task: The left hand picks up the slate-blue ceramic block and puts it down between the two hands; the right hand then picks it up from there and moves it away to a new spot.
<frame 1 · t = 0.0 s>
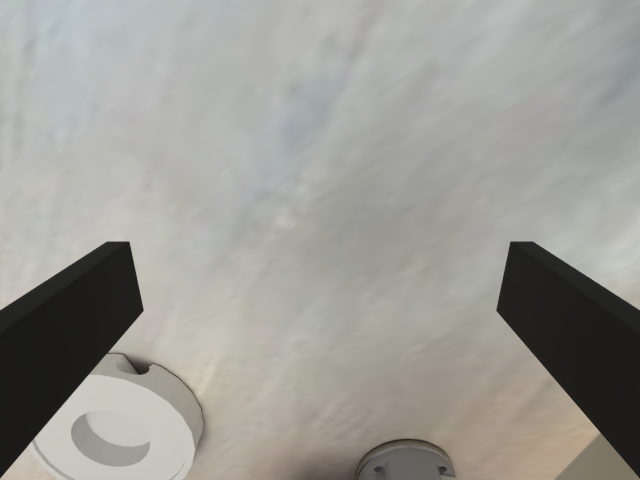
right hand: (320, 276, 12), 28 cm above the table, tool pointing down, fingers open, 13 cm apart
ashtray: (125, 416, 52), on the table
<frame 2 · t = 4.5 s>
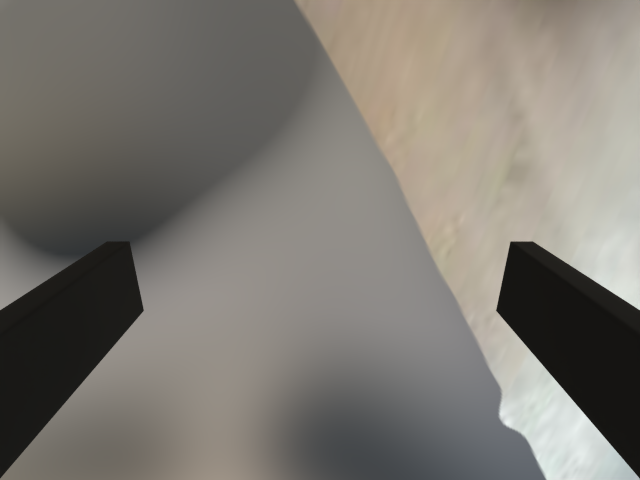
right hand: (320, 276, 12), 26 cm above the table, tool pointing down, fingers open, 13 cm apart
when the left hand's fingers open (5 cm above the table, at t = 12.6 s): block drops 1 cm, on the table.
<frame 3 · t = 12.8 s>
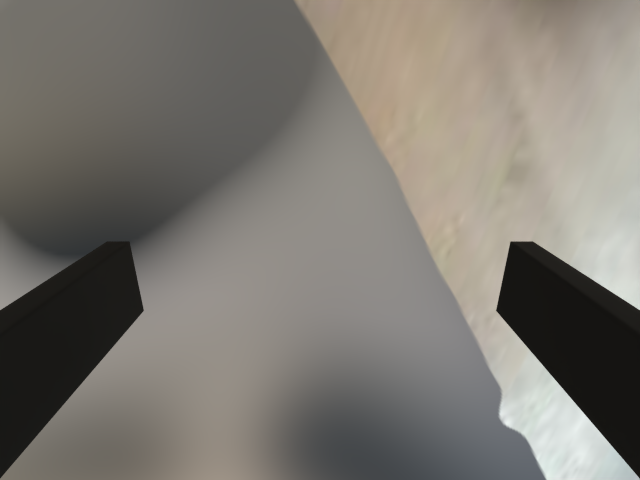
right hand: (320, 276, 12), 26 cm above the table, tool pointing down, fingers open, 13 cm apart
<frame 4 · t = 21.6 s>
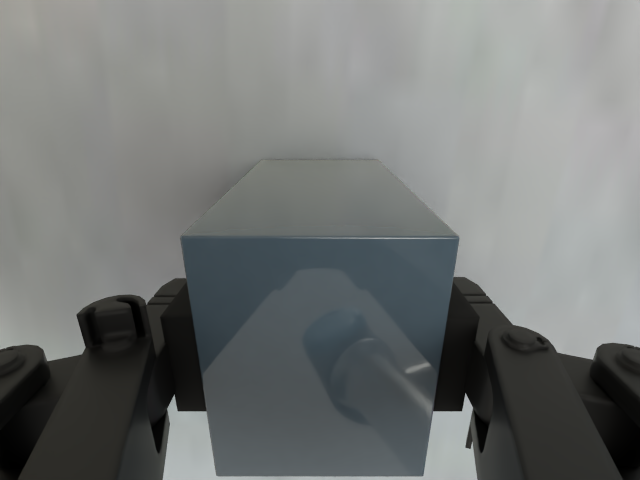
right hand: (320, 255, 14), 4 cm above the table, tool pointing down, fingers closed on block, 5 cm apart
block: (319, 228, 18), on the table, touching right hand
when the right hand's fingers open (5 cm above the table, at t = 36.8 s): block drops 1 cm, on the table.
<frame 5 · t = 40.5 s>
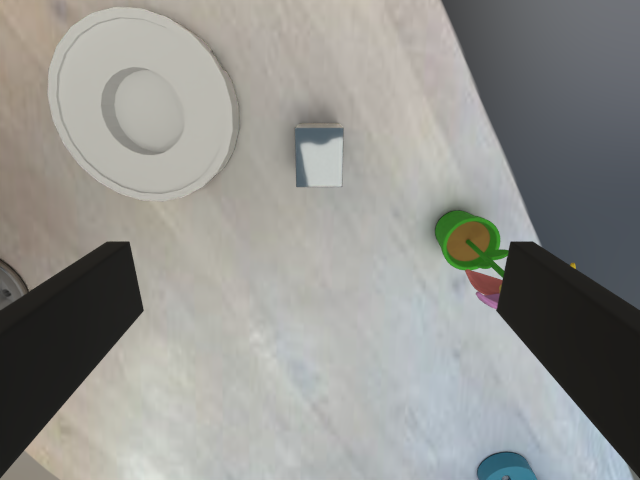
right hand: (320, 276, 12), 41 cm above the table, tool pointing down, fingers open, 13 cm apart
block: (319, 148, 50), on the table
ashtray: (156, 112, 49), on the table
potted flower: (452, 229, 55), on the table
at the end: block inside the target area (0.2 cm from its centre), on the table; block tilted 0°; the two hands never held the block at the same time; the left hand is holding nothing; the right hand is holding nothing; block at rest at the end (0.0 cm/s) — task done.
